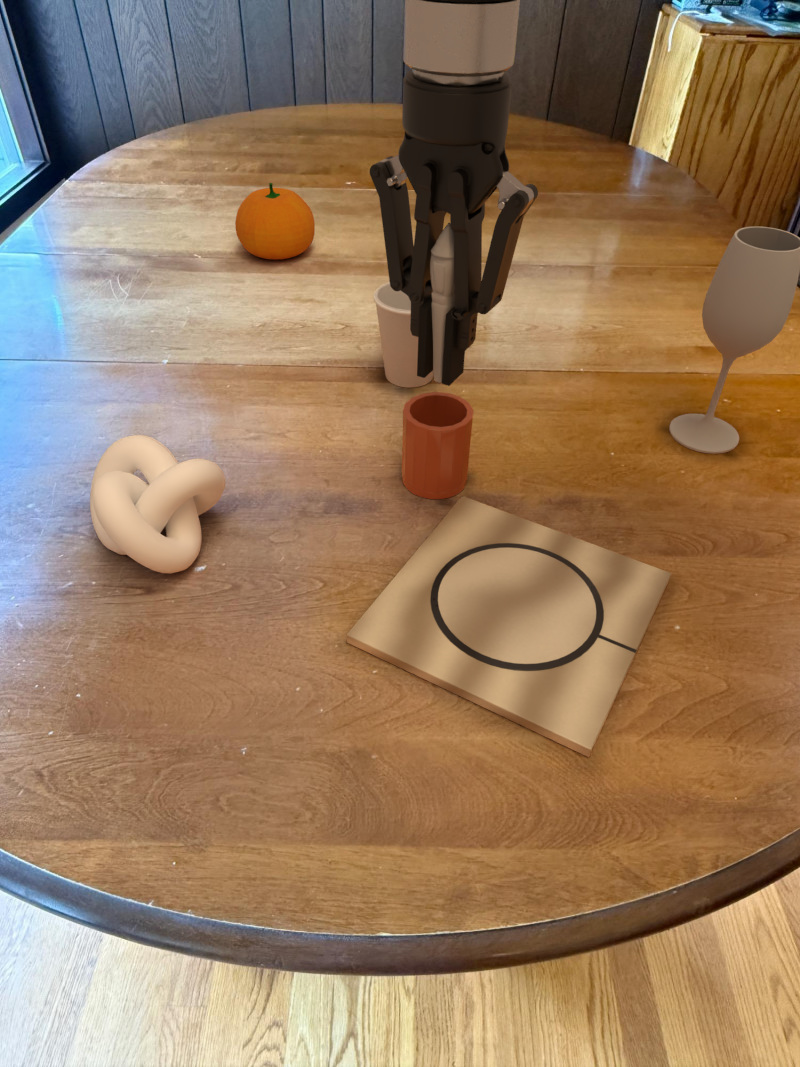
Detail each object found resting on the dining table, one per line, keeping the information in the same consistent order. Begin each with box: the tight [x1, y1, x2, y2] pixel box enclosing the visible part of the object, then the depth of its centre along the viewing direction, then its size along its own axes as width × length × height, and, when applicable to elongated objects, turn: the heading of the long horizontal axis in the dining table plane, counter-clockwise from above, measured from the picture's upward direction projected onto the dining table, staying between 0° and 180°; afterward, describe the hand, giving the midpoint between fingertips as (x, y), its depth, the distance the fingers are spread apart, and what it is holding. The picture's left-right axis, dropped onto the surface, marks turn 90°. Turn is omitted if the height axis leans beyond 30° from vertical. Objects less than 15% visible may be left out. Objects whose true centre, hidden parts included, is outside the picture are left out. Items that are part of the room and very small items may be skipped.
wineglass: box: [668, 226, 800, 455], centre depth 76 cm, size 8×8×21 cm
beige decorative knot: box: [89, 434, 227, 574], centre depth 66 cm, size 11×12×9 cm
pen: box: [430, 222, 455, 384], centre depth 64 cm, size 2×3×14 cm
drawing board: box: [346, 495, 672, 758], centre depth 63 cm, size 20×20×1 cm
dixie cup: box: [372, 281, 434, 388], centre depth 88 cm, size 8×8×10 cm
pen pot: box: [401, 391, 474, 500], centre depth 74 cm, size 6×6×8 cm
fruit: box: [234, 182, 316, 261], centre depth 114 cm, size 12×12×10 cm
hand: (440, 373), depth 69 cm, fingers closed on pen, 2 cm apart
